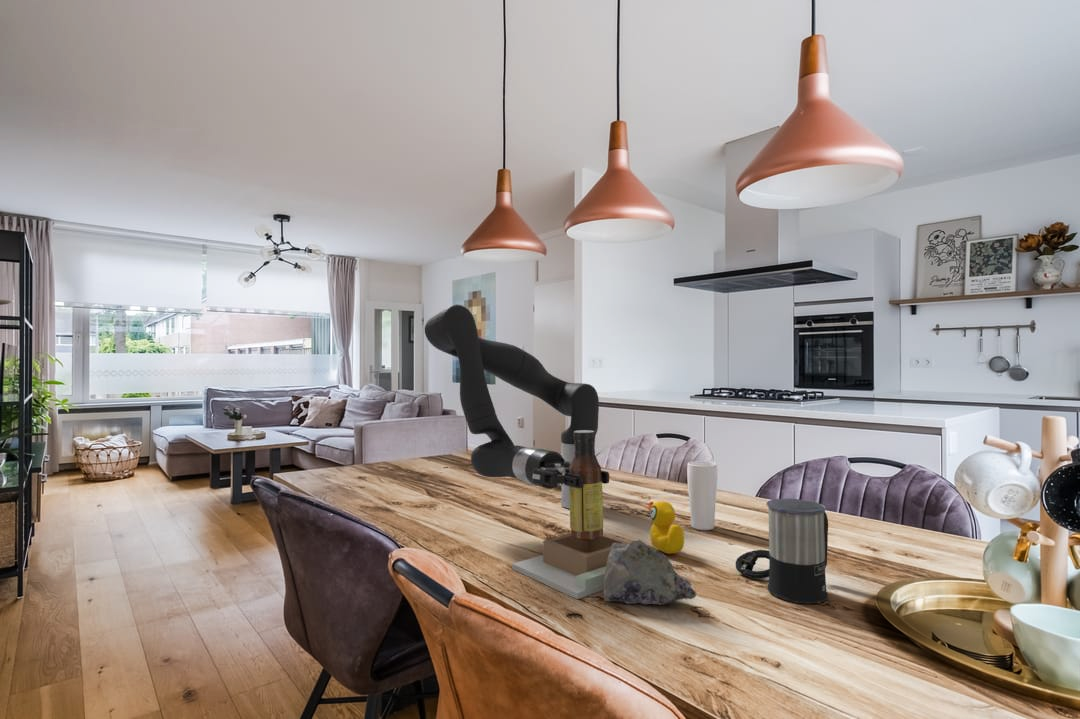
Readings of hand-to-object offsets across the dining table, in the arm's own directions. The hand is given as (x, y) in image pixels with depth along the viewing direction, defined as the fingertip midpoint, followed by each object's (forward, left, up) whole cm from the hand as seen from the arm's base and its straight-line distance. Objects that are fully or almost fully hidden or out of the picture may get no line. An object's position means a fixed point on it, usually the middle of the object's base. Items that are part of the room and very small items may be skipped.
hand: (594, 480), depth 105 cm
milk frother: (-20, +25, -17) cm, 36 cm away
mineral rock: (+3, +15, -17) cm, 23 cm away
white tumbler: (-39, -4, -17) cm, 43 cm away
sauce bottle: (0, -2, -11) cm, 11 cm away
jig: (0, -2, -17) cm, 17 cm away
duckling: (-19, +1, -17) cm, 26 cm away
